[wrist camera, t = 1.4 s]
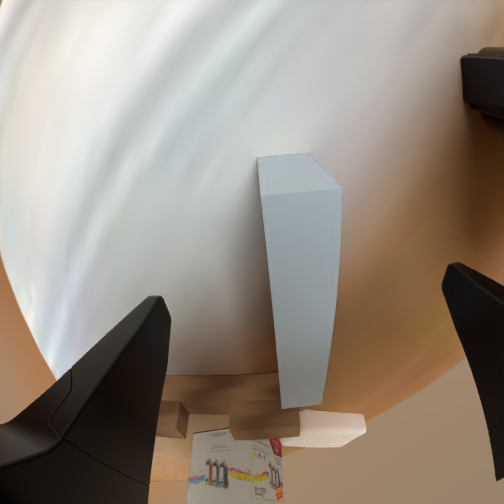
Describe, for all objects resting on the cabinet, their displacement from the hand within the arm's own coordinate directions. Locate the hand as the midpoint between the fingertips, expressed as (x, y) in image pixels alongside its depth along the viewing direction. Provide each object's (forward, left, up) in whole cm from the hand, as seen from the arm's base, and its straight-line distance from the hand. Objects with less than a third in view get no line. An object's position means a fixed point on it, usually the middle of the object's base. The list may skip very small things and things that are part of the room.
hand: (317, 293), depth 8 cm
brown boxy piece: (+7, +15, -7) cm, 18 cm away
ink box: (+7, +30, -7) cm, 32 cm away
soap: (-3, +26, -7) cm, 27 cm away
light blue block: (0, +4, -7) cm, 8 cm away
